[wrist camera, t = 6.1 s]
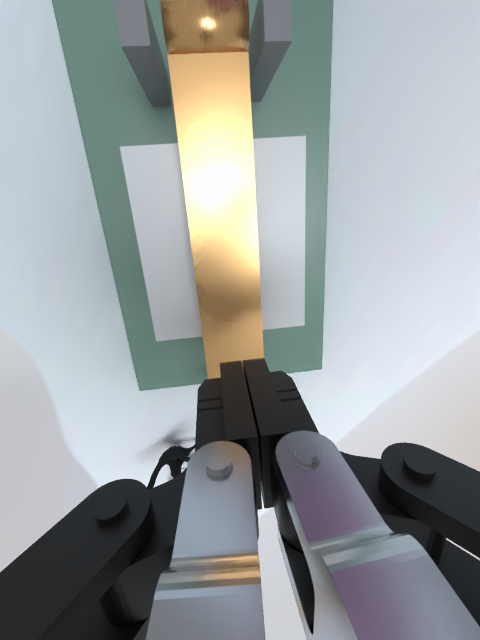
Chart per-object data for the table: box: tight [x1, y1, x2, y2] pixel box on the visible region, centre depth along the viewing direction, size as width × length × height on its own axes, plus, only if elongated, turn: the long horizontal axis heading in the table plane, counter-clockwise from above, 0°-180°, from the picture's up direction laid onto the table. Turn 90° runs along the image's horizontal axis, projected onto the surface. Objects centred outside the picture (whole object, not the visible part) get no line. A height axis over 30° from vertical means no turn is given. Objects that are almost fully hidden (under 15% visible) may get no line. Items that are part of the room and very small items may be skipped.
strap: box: [160, 0, 264, 379], centre depth 14 cm, size 17×3×2 cm, turn 4°
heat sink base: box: [52, 0, 333, 391], centre depth 16 cm, size 23×14×9 cm, turn 4°
